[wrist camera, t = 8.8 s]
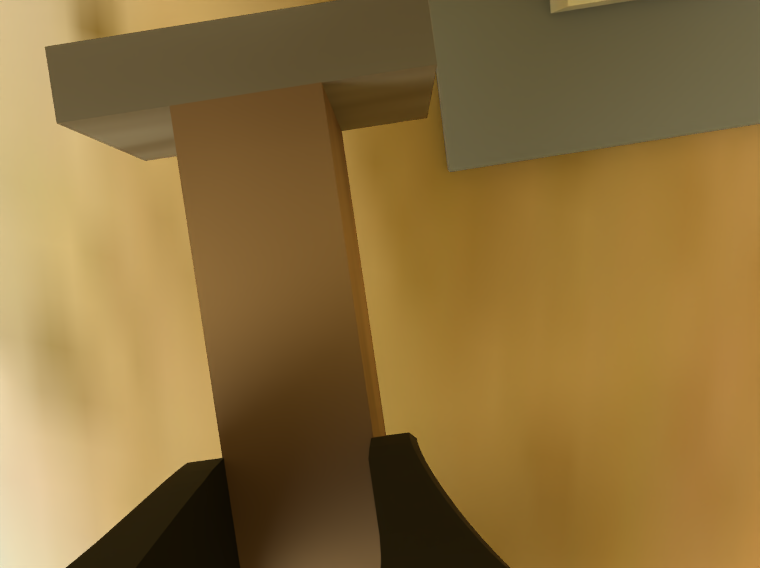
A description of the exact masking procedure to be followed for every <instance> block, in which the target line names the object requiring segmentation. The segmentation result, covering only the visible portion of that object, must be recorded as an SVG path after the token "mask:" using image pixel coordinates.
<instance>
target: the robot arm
mask: <svg viewBox="0 0 760 568" xmlns="http://www.w3.org/2000/svg"><path fill="white" fill-rule="evenodd" d="M368 460H369V467H370V474H371V481H372V488H373V495H374V501H375V508H376V515H377V522H378V529H379V536H380V550H381V568H510V567H509V566H508V565H507V564H506V563H505V562H504V561H503V560H502V559H501V558H500V557H499V556H498V555H497V554H496V553H495V552H494V551H493V550H492V549H491V547H490V546H489V545H488V544H487V543H486V542H485V541H484V540H483V539H482V538H481V536H480V535H479V534H478V533H477V532H476V531H475V529H474V528H473V527H472V526H471V525H470V524H469V522H468V521H467V520H466V519H465V517H464V516H463V515H462V514H461V512H460V511H459V510H458V509H457V507H456V506H455V505H454V503H453V502H452V500H451V499H450V498H449V496H448V495H447V494H446V492H445V491H444V489H443V488H442V487H441V485H440V484H439V482H438V481H437V479H436V478H435V476H434V474H433V473H432V471H431V469H430V468H429V466H428V464H427V463H426V461H425V459H424V457H423V455H422V453H421V451H420V448H419V446H418V443H417V438H415V437H414V436H413V435H411V434H410V433H402V434H395V435H387V436H380V437H373V438H371V442H370V447H369V457H368ZM66 568H240V563H239V556H238V549H237V543H236V536H235V529H234V523H233V516H232V510H231V503H230V496H229V490H228V483H227V477H226V470H225V463H224V458H219V459H212V460H205V461H197V462H190V463H187V464H185V465H184V466H183V467H181V468H180V469H179V470H177V471H176V472H175V473H174V474H173V475H171V476H170V477H169V478H168V479H167V480H166V481H165V482H163V483H162V484H161V485H160V486H159V487H158V488H157V489H156V490H154V491H153V492H152V493H151V494H150V495H149V496H148V497H147V498H146V499H144V500H143V501H142V502H141V503H140V504H139V505H138V506H137V507H136V508H135V509H133V510H132V511H131V512H130V513H129V514H128V515H127V516H126V517H124V518H123V519H122V520H121V521H120V522H119V523H118V524H117V525H115V526H114V527H113V528H112V529H111V530H110V531H109V532H108V533H107V534H105V535H104V536H103V537H102V538H101V539H100V540H99V541H97V542H96V543H95V544H94V545H93V546H92V547H90V548H89V549H88V550H87V551H86V552H84V553H83V554H82V555H81V556H79V557H78V558H77V559H76V560H75V561H73V562H72V563H71V564H70V565H69V566H67V567H66Z"/></svg>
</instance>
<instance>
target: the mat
mask: <svg viewBox="0 0 760 568" xmlns="http://www.w3.org/2000/svg"><path fill="white" fill-rule="evenodd" d="M428 4H429V11H430V18H431V25H432V32H433V39H434V46H435V53H436V60H437V68H436V75H437V83H438V91H439V99H440V108H441V116H442V124H443V133H444V141H445V149H446V157H447V166H448V170H449V171H450V172H453V171H460V170H466V169H473V168H479V167H485V166H492V165H498V164H505V163H511V162H518V161H524V160H530V159H537V158H543V157H550V156H556V155H562V154H569V153H575V152H582V151H588V150H595V149H601V148H607V147H614V146H620V145H627V144H633V143H640V142H646V141H652V140H659V139H665V138H672V137H678V136H685V135H691V134H697V133H704V132H710V131H717V130H723V129H729V128H736V127H742V126H749V125H755V124H760V0H632V1H626V2H620V3H613V4H607V5H601V6H594V7H588V8H582V9H575V10H569V11H563V12H556V13H551V9H550V0H428Z"/></svg>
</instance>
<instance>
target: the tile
mask: <svg viewBox="0 0 760 568" xmlns="http://www.w3.org/2000/svg"><path fill="white" fill-rule="evenodd" d="M626 1H632V0H550V9H551V13H556V12H563V11H569V10H575V9H582V8H588V7H594V6H601V5H607V4H613V3H620V2H626Z"/></svg>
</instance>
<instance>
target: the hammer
mask: <svg viewBox="0 0 760 568" xmlns="http://www.w3.org/2000/svg"><path fill="white" fill-rule="evenodd" d="M45 50H46V57H47V63H48V70H49V76H50V83H51V89H52V96H53V102H54V108H55V115H56V121H57V124H60V125H62V126H64V127H67V128H69V129H71V130H74V131H76V132H79V133H81V134H83V135H86V136H88V137H90V138H93V139H95V140H97V141H100V142H102V143H104V144H107V145H109V146H112V147H114V148H116V149H119V150H121V151H123V152H126V153H128V154H130V155H133V156H135V157H137V158H140V159H142V160H145V161H147V160H154V159H160V158H167V157H174V156H177V160H178V166H179V173H180V179H181V186H182V193H183V199H184V206H185V212H186V219H187V226H188V232H189V239H190V246H191V252H192V259H193V265H194V272H195V279H196V285H197V292H198V298H199V305H200V312H201V318H202V325H203V331H204V338H205V345H206V351H207V358H208V365H209V371H210V378H211V384H212V391H213V398H214V404H215V411H216V417H217V424H218V431H219V437H220V444H221V451H222V457H223V458H224V463H225V470H226V477H227V483H228V490H229V496H230V503H231V510H232V516H233V523H234V529H235V536H236V543H237V549H238V556H239V563H240V568H381V550H380V536H379V529H378V522H377V515H376V508H375V501H374V495H373V488H372V481H371V474H370V467H369V460H368V457H369V447H370V442H371V438H373V437H380V436H386V432H385V426H384V419H383V412H382V405H381V398H380V391H379V384H378V378H377V371H376V364H375V357H374V350H373V343H372V336H371V330H370V323H369V316H368V309H367V302H366V295H365V288H364V282H363V275H362V268H361V261H360V254H359V247H358V240H357V233H356V227H355V220H354V213H353V206H352V199H351V192H350V185H349V179H348V172H347V165H346V158H345V151H344V144H343V137H342V131H344V130H351V129H357V128H364V127H370V126H377V125H383V124H390V123H396V122H403V121H410V120H416V119H423V118H427V115H428V109H429V104H430V99H431V94H432V88H433V83H434V78H435V73H436V68H437V60H436V53H435V46H434V39H433V32H432V25H431V18H430V11H429V4H428V0H336V1H330V2H324V3H317V4H311V5H305V6H299V7H292V8H286V9H280V10H273V11H267V12H261V13H255V14H248V15H242V16H236V17H229V18H223V19H217V20H211V21H204V22H198V23H192V24H185V25H179V26H173V27H167V28H160V29H154V30H148V31H141V32H135V33H129V34H123V35H116V36H110V37H104V38H97V39H91V40H85V41H78V42H72V43H66V44H60V45H53V46H47V47H45Z"/></svg>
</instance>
